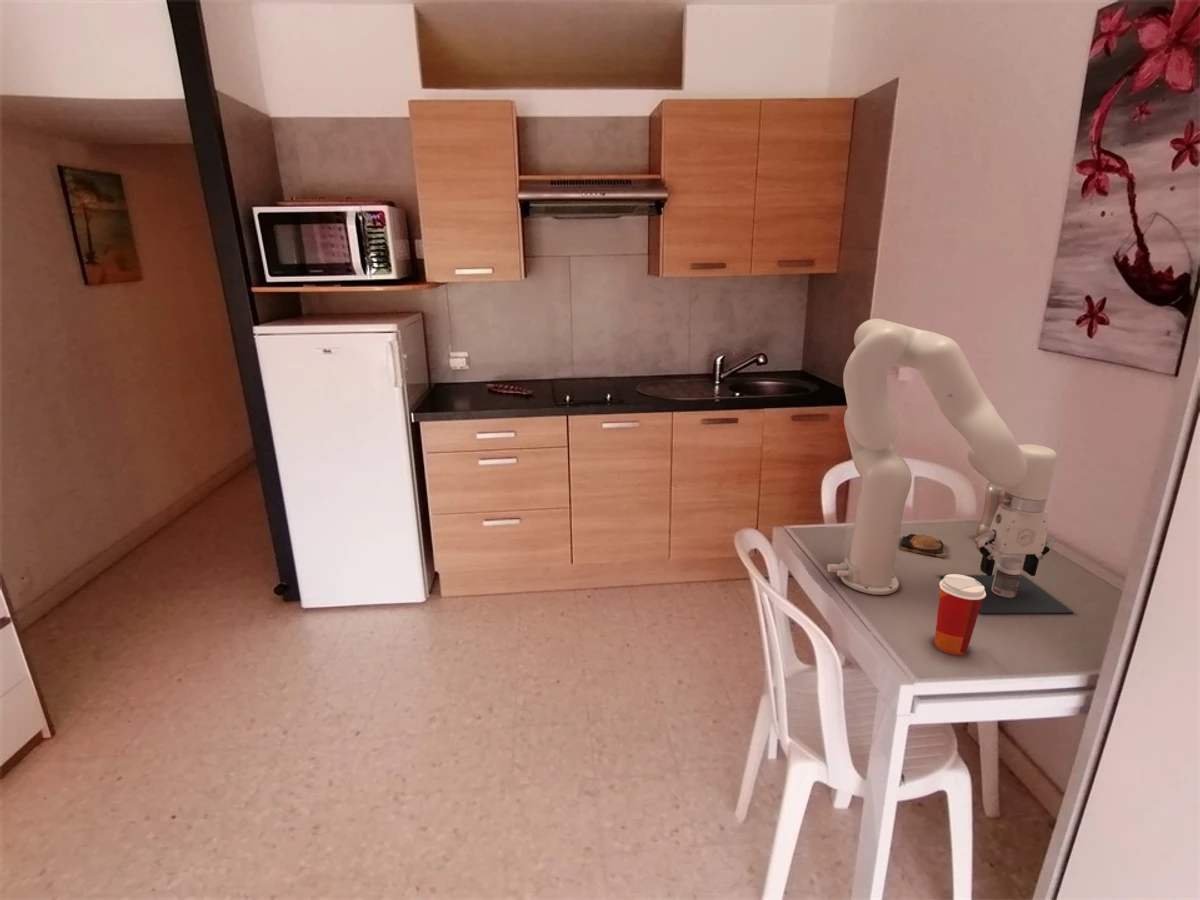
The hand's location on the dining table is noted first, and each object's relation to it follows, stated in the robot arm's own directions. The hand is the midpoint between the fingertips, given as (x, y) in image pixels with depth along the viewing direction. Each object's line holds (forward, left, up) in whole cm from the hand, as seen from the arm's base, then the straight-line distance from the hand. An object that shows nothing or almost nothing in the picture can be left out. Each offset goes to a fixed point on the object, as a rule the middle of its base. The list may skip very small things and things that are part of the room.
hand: (1007, 573), depth 137 cm
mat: (0, 0, -5) cm, 5 cm away
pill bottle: (0, 0, -5) cm, 5 cm away
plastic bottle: (+14, +27, -6) cm, 31 cm away
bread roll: (-6, +23, -6) cm, 24 cm away
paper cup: (-23, -19, -6) cm, 30 cm away
